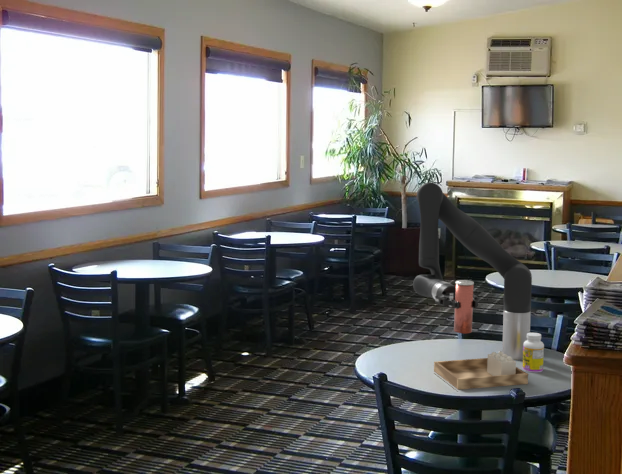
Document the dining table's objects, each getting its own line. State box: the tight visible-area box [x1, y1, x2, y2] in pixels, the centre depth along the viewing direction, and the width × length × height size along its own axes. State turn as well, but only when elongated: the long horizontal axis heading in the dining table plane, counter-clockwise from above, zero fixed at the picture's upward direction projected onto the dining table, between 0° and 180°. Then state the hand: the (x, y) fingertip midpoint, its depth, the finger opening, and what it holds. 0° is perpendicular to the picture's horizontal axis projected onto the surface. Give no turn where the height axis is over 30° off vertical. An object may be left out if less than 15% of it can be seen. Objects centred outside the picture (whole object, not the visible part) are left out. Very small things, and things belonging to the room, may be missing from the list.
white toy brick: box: [487, 350, 517, 376], centre depth 262 cm, size 5×10×7 cm, turn 13°
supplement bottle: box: [522, 332, 545, 373], centre depth 269 cm, size 7×7×13 cm
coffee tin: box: [453, 279, 475, 334], centre depth 257 cm, size 6×6×16 cm
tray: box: [433, 357, 529, 392], centre depth 261 cm, size 24×20×4 cm
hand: (467, 305), depth 254 cm, fingers closed on coffee tin, 5 cm apart
